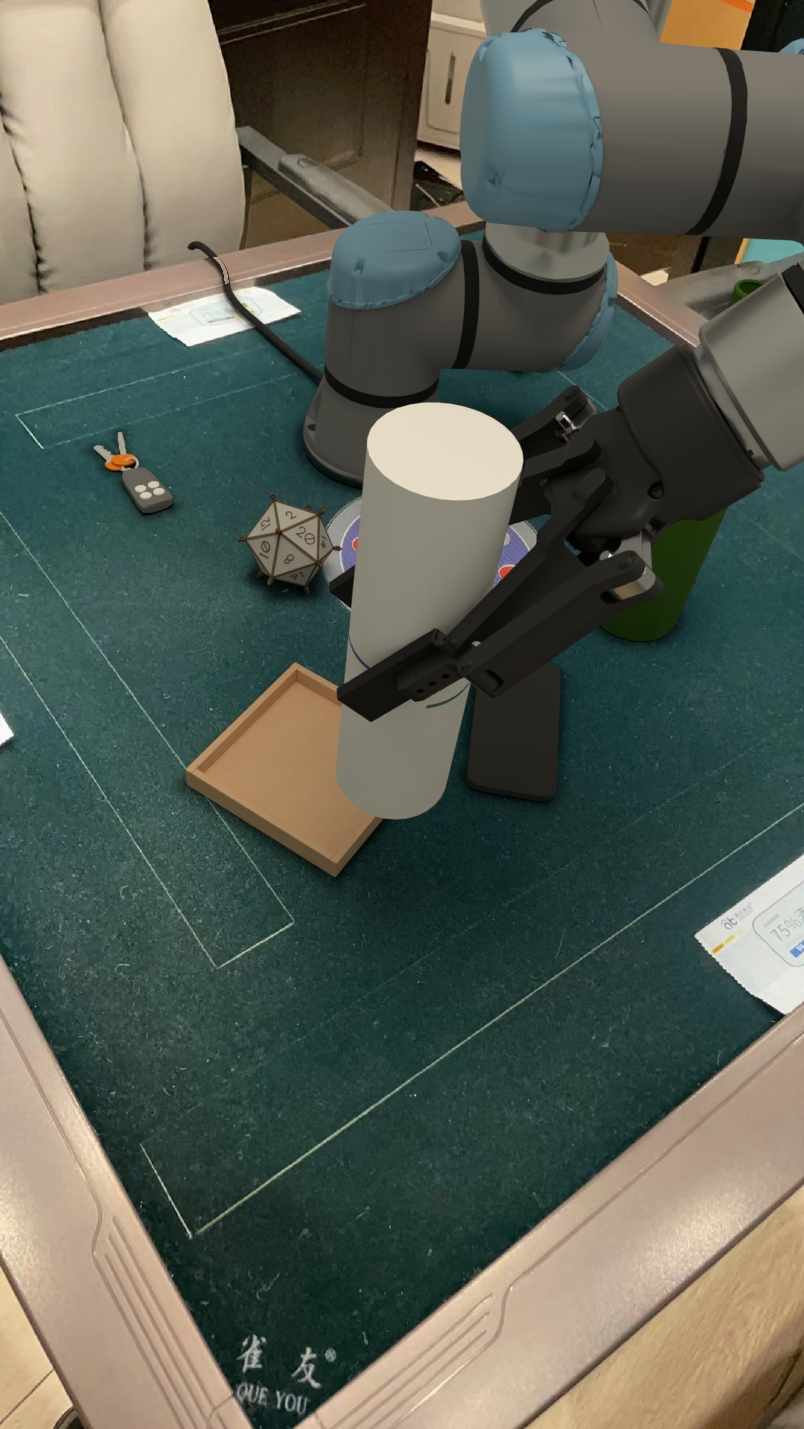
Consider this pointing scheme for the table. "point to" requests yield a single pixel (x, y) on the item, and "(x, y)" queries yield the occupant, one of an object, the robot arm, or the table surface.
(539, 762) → the phone
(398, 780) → the cylindrical container
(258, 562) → the game die
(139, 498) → the key chain
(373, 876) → the table surface
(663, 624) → the wine bottle
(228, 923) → the table surface
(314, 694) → the tray
